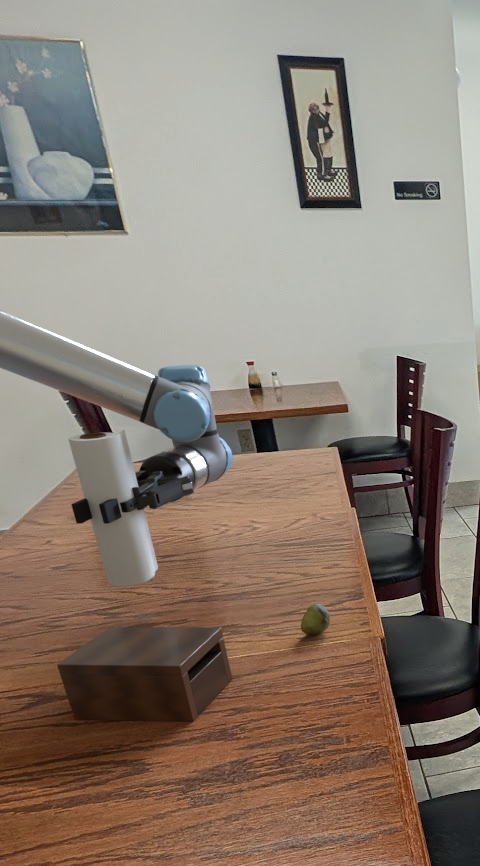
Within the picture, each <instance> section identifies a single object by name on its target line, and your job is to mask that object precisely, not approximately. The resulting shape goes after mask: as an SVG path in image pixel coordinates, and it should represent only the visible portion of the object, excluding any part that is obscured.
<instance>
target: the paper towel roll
mask: <svg viewBox="0 0 480 866" xmlns="http://www.w3.org/2000/svg"><path fill="white" fill-rule="evenodd" d="M68 443H69V447H70V450H71V453H72V458H73V462H74V464H75V469H76V473H77V475H78V479H79V483H80V487H81V490H82V494H83V497H84V498H86V499H87V500H88V504H89V508H90V511H91V515H92V519H90V522H91V526H92V530H93V534H94V537H95V541H96V545H97V549H98V552H99V555H100V559H101V563H102V566H103V571H104V574H105V577H106V581H107V583H108V584H109V585H110V586H112V587H119V588H120V587H124V588H125V587H131V586H136V585H141V584H144V583H146V582H148V581H150V580H151V579H152V578H154V577H155V576H156V571H157V570H159V565H158V560H157V557H156V553H155V549H154V548H155V547H154V545H153V540H152V535H151V533H150V529H149V528H150V527H149V524H148V520H147V516H146V511H145V508H144V509H142V510H137V509H135V510H133V511H131V512H122V509H121V505H120V503H121V502H124V501H128V500H130V499H132V498H133V497H134V494H133V490H132V488H133V487H138V483H137V479H136V475H135V473H136V470H135V466H134V462H133V459H132V455H131V451H130V450H131V449H130V447H129V446H130V445H129V442H128V438H127V434H126V430H125V429H123V430H120V431H119V433H118V434H117V433H115V432H90V433H82V434H76V435H73V436H70V437H69V438H68ZM84 498H83V499H84ZM116 498H117V500H118V504H119V508H120V512H121V516H122V517H121V518H119V519H117V520H115V521H113V522H111V523H109V524H104V522H103V518H102V515H101V511H100V507H99V504H100V503H103V502H105V501H107V500H109V499H116Z"/></svg>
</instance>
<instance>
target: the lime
mask: <svg viewBox="0 0 480 866" xmlns="http://www.w3.org/2000/svg"><path fill="white" fill-rule="evenodd" d="M330 623H331V615H330V613H329V611H328V609H327V607H326V606H324V605H323V604H320V603H313V604H311V605H310V606H309V607H308V608H307V610H305V613H304V614H303V616H302V618H301V622H300V630H301V632H302V633H304V634H306V635H311V636H316V635H320V634H322V633H323V632H325V631H326V630H327V629H328V628H329V626H330Z"/></svg>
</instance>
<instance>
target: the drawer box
mask: <svg viewBox="0 0 480 866" xmlns="http://www.w3.org/2000/svg"><path fill="white" fill-rule="evenodd" d="M225 643H226V642H225V638H224V635H223V630H222V627H200V626H199V627H190V626H188V627H186V626H185V627H183V626H181V627H180V626H178V627H177V626H175V627H174V626H108V627H107V628H106V629H104V630H103V631H102V632H100V633H99V634H97V635H96V636H94V637H93V638H92V639H91V640H89V641H88V642H87V643H85V644H83V646H81V647H79V648H78V649H77V650H76V651H74V652H73V653H71V654H69V655H68V656H67V657H66V658H64V659H63V660H62V661H60V662H59V663H57V664H56V666H57V670H58V673H59V675H60V679H61V682H62V685H63V688H64V691H65V695H66V698H67V700H68V702H69V707H70V710H71V713H72V716H73V719H74V720H80V721H136V722H137V721H138V722H139V721H142V722H143V721H144V722H145V721H146V722H147V721H148V722H150V721H151V722H195V720H196V719H198V717H199V716H200V715H201V714H202V713H203V712H204V711H205V710H206V708H207V707H208V706H209V705H210V704H211V703H212V702H213V701H214V700H215V699H216V698H217V696H219V694H220V693H221V692H222V691H223V690H224V689H225V688H226V687H227V685H229V683H230V682H231V681H232V680H233V676H232V671H231V670H232V669H231V666H230V662H229V657H228V653H227V648H226V644H225Z"/></svg>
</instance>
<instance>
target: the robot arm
mask: <svg viewBox="0 0 480 866" xmlns="http://www.w3.org/2000/svg"><path fill="white" fill-rule="evenodd" d="M0 369H2V370H4V371H7V372H10V373H13V374H15V375H17V376H21V377H23V378H25V379H28V380H31V381H33V382H36V383H39V384H40V385H44V386H46V387H49V388H51V389H54V390H56V391H59V392H61V393H65V394H67V395H70V396H72V397H74V398H77V399H80V400H82V401H85V402H88V403H91V404H93V405H94V406H95V405H96V406H98V407H101V408H103V409H106V410H109V411H111V412H113V413H117V414H118V415H122V416H124V417H126V418H129V419H132V420H135V421H137V422H140V423H142V424H144V425H146V426H149V427H151V428H154V429H156V430H159V432H161V433H162V434H163V435H164V436H165V437H167V438H168V439H170V440H171V441H172V447H170V448H168V449H165V450H162V451H161V452H158V453H156V454H154V455H152V456H150V457H147V458H146V459H145V460H144V461H143V462H142V463H141V465H140V467H139V470H137V471H135V475H136V479H137V483H138V487H133V488H132V490H133V494H134V497H133V498H132V499H130V500H128V501H124V502H121V503H120V505H121V509H122V512H131V511H133V510H135V509H137V510H142V509H144V510H145V509H146V508H147V507H149V509H151V510H156V509H158V508H160V507H162V506H164V505H167V504H169V503H174V502H177V501H179V500H181V499H183V498H185V497H190V496H191V495H192V494H194V493H195V491H197V490H199V489H200V488H202V487H204V486H206V485H209V484H211V483H213V482H215V481H218V480H219V479H221V478H222V477H223V476H224V475H225V474H227V472H229V470H230V469H231V468H232V465H233V459H234V457H233V452H232V449H231V448H230V446H229V445H228V443H227V442H226V441H225V440H224V439H223V438H222V437H220V435H219V430H218V427H217V422H216V416H215V410H214V404H213V400H212V393H211V386H210V383H209V380H208V379H209V378H208V376H207V373H206V372H207V371H206V369H205V368H204V367H203V366H201V365H197V364H196V365H195V364H181V365H169V366H163V367H161V368H159V369H158V371H157V375H156V374H155V373H151V372H149V371H147V370H144V369H142V368H139V367H137V366H135V365H132V364H130V363H128V362H125V361H122V360H120V359H118V358H116V357H113V356H110V355H108V354H106V353H104V352H101V351H99V350H96V349H94V348H92V347H89V346H87V345H85V344H82V343H80V342H77V341H75V340H73V339H71V338H68V337H65V336H63V335H60V334H58V333H57V332H53V331H51V330H48V329H46V328H44V327H41V326H39V325H36V324H34V323H32V322H29V321H27V320H25V319H22V318H20V317H17V316H15V315H12V314H10V313H8V312H5V311H3V310H1V309H0ZM70 505H71V509H72V512H73V515H74V519H75V523H76V524H84V523H85V522H88V521H91V519H92V515H91V511H90V508H89V504H88V500H87V499H86V498H82V499H80V500H77V501H75V502H73V503H71V504H70ZM99 507H100V511H101V515H102V518H103V522H104V524H109V523H111V522H113V521H115V520H117V519H119V518H121V517H122V516H121V512H120V508H119V504H118V500H117V498H116V499H109V500H107V501H105V502H103V503H100V504H99Z"/></svg>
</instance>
